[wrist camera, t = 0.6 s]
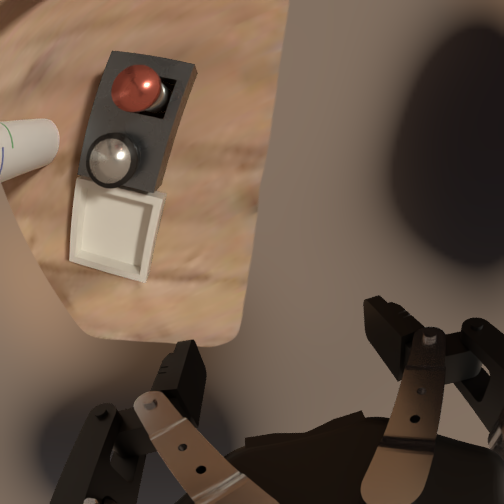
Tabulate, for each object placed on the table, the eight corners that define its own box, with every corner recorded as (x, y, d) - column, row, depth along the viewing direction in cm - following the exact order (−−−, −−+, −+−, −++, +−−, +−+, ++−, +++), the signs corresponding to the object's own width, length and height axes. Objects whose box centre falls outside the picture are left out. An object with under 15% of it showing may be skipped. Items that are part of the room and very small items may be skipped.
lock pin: (137, 112, 29) (105, 107, 19) (148, 80, 27) (120, 61, 17) (170, 119, 30) (149, 115, 20) (181, 87, 29) (166, 68, 19)
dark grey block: (93, 167, 31) (64, 180, 24) (124, 59, 26) (101, 43, 18) (161, 184, 34) (147, 200, 26) (197, 73, 28) (192, 57, 21)
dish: (77, 251, 36) (69, 260, 33) (86, 173, 31) (76, 177, 28) (149, 272, 39) (145, 283, 36) (167, 193, 34) (163, 199, 31)
